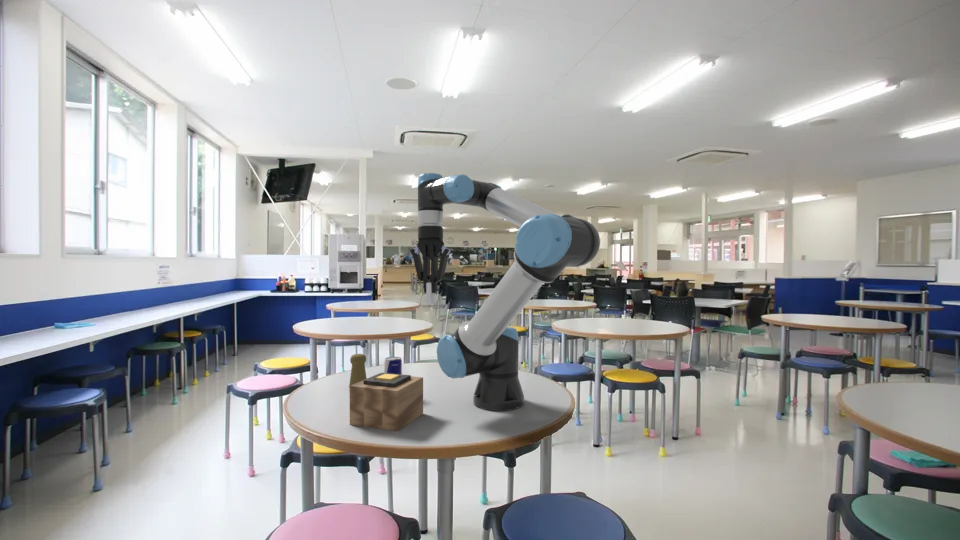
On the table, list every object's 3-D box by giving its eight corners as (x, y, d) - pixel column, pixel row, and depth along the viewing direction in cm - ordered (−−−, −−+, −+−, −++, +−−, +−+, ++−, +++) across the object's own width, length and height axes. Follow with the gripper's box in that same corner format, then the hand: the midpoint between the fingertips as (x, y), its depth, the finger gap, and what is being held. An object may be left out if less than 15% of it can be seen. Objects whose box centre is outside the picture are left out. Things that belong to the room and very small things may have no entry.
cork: (348, 385, 151) (348, 353, 151) (367, 383, 153) (366, 352, 153) (349, 389, 146) (349, 356, 145) (368, 388, 147) (367, 355, 147)
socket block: (423, 413, 122) (423, 373, 122) (397, 431, 109) (397, 387, 109) (379, 408, 127) (379, 369, 127) (349, 424, 114) (349, 382, 114)
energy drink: (397, 399, 135) (397, 360, 135) (381, 398, 136) (381, 359, 136) (404, 394, 140) (404, 356, 140) (388, 393, 141) (388, 356, 141)
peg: (399, 408, 119) (399, 375, 119) (390, 413, 115) (390, 378, 115) (385, 406, 121) (384, 373, 121) (376, 411, 117) (376, 377, 117)
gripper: (455, 226, 135) (455, 303, 135) (417, 227, 139) (417, 302, 139) (445, 224, 127) (445, 305, 128) (405, 225, 132) (405, 304, 132)
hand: (430, 303), depth 133 cm, fingers closed
